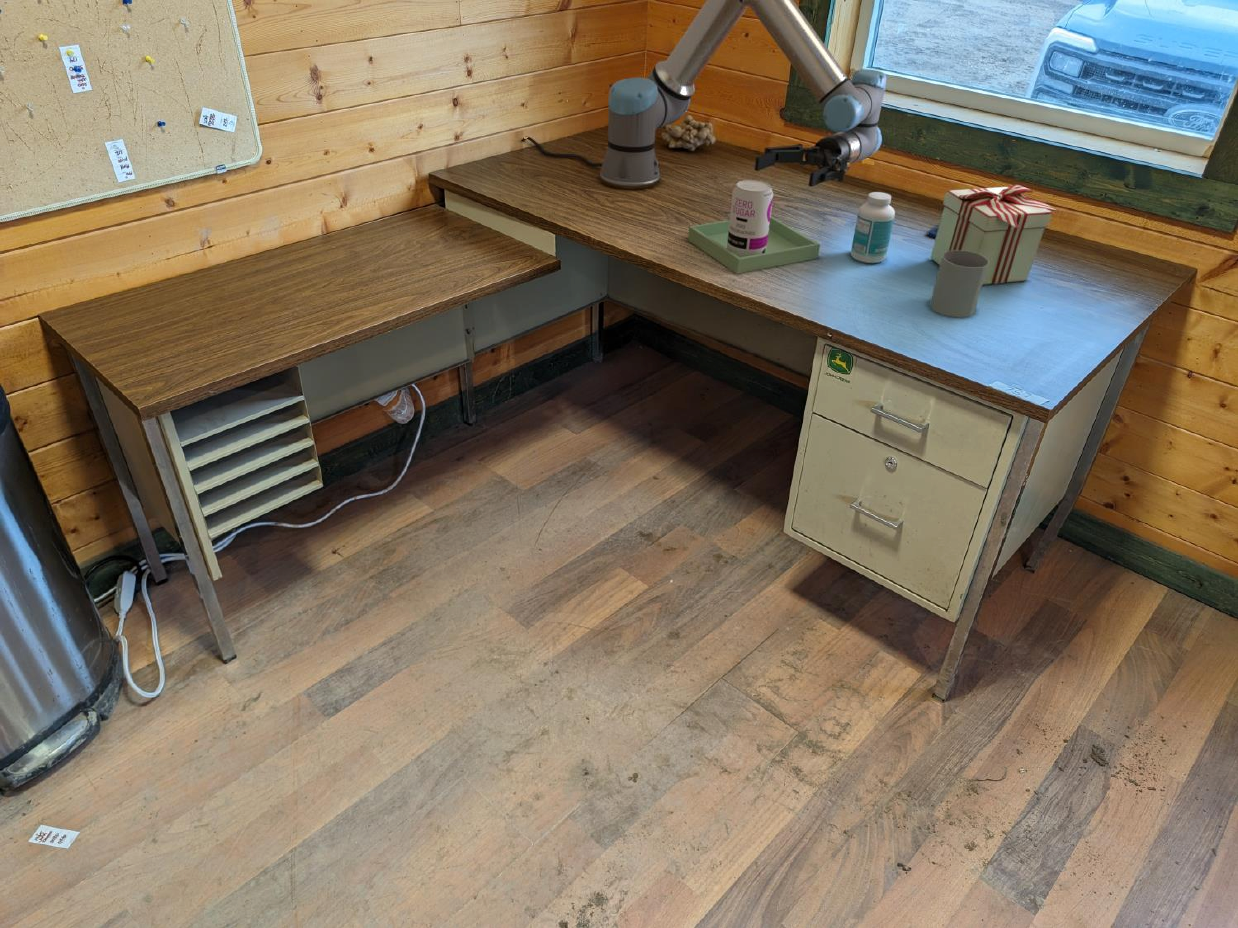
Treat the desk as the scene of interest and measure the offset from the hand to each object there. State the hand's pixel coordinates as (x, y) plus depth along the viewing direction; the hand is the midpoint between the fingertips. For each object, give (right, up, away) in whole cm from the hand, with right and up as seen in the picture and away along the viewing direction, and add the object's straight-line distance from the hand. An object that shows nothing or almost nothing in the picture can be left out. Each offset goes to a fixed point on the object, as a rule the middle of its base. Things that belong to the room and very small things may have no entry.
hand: (783, 172), depth 186 cm
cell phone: (+43, -8, +17) cm, 47 cm away
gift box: (+42, -22, -1) cm, 47 cm away
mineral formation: (-14, +27, +64) cm, 71 cm away
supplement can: (-8, -18, 0) cm, 20 cm away
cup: (+30, -32, -16) cm, 46 cm away
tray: (-6, -15, +5) cm, 17 cm away
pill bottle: (+19, -18, +3) cm, 26 cm away
